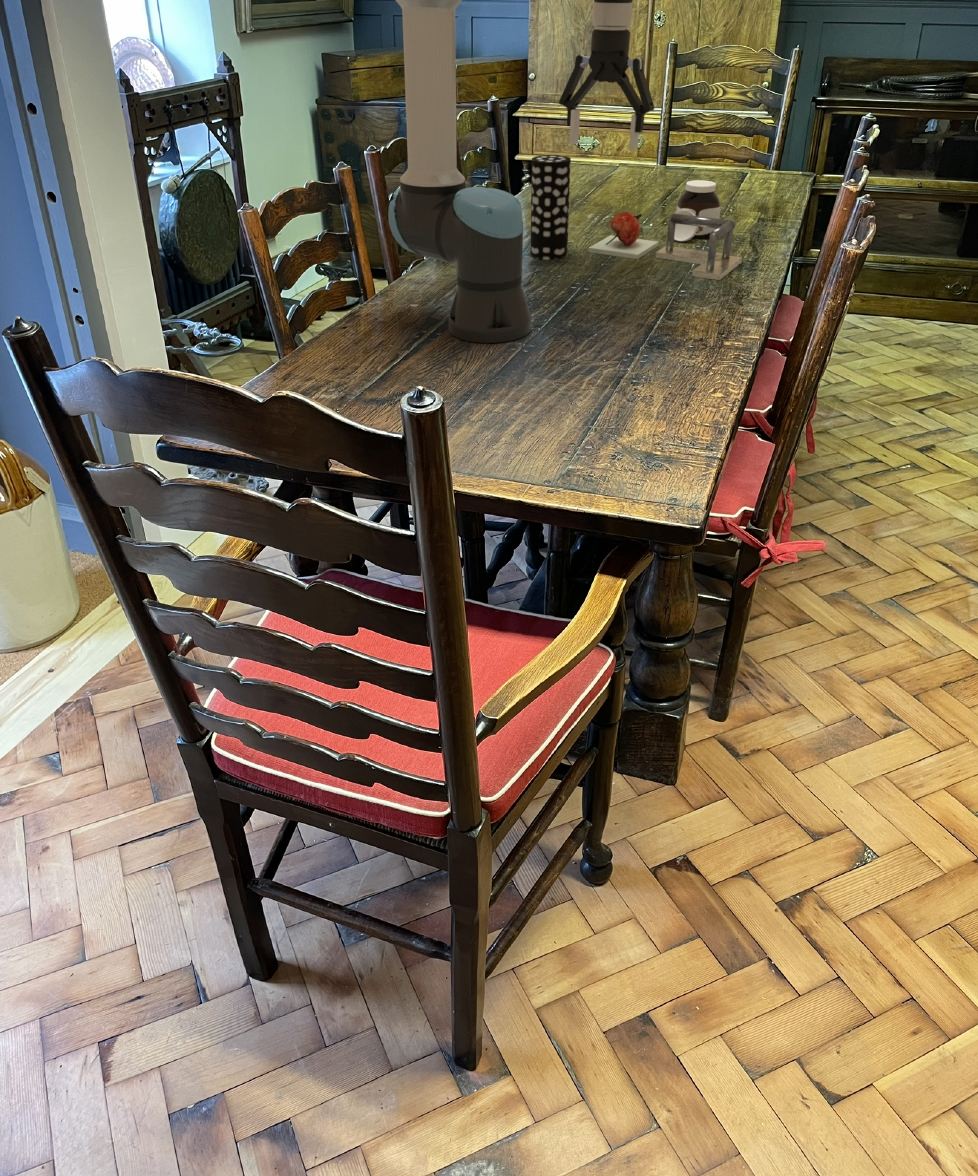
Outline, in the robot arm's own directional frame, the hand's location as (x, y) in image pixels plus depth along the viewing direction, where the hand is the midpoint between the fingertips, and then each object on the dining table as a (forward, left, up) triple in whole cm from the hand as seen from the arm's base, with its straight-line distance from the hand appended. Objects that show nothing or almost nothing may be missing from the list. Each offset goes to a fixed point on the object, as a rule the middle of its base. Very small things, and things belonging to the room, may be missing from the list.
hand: (602, 147), depth 195 cm
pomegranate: (+9, -2, -22) cm, 24 cm away
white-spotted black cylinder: (-3, +11, -23) cm, 25 cm away
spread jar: (+26, -12, -23) cm, 37 cm away
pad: (+9, -2, -23) cm, 25 cm away
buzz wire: (+5, -20, -23) cm, 31 cm away
